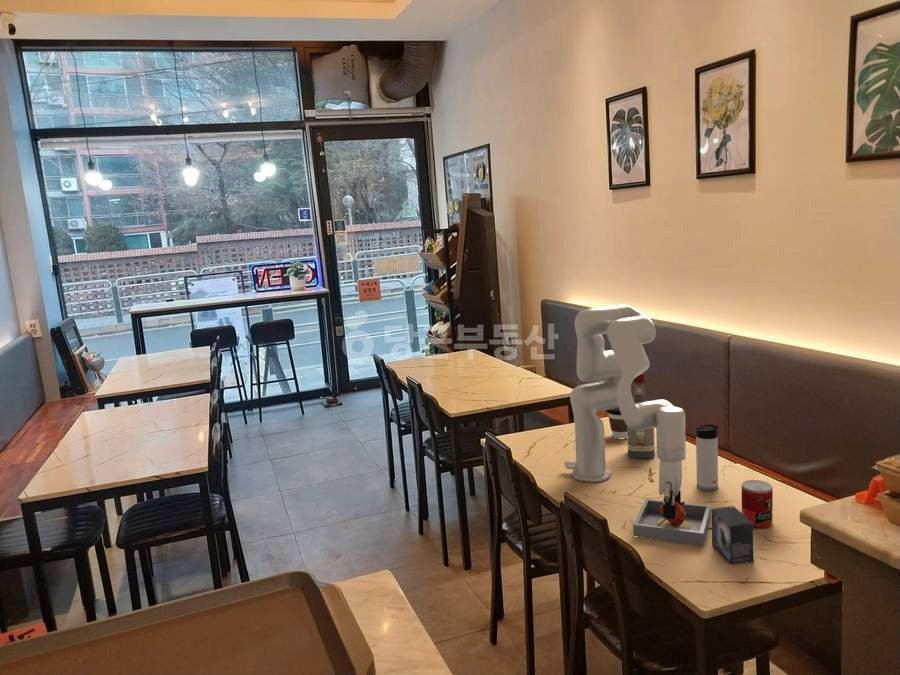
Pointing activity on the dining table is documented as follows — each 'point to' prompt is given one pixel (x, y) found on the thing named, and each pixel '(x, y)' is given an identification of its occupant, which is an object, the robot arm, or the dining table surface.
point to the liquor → (642, 439)
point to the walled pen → (687, 532)
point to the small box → (732, 535)
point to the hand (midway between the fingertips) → (672, 510)
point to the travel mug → (707, 457)
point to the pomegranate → (679, 514)
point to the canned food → (757, 502)
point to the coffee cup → (617, 423)
